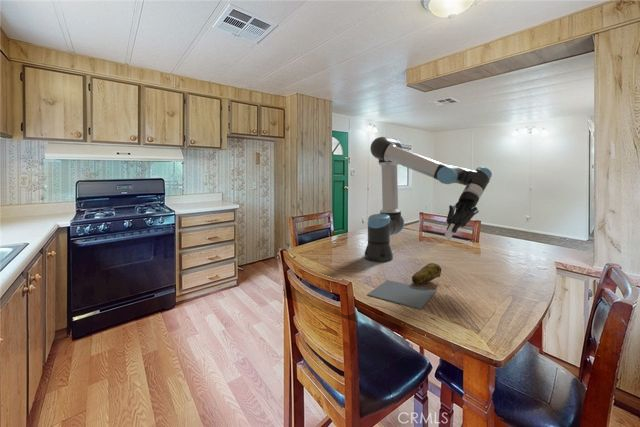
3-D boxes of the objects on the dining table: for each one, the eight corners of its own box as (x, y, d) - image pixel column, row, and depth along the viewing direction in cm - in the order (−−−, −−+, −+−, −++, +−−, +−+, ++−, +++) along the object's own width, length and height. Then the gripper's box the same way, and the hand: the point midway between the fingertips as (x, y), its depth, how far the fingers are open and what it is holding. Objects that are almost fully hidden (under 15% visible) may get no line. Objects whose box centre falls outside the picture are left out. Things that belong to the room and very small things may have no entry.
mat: (367, 295, 107) (367, 294, 107) (387, 280, 122) (387, 279, 122) (420, 309, 95) (420, 308, 95) (436, 291, 110) (436, 290, 110)
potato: (407, 279, 123) (407, 261, 122) (436, 278, 123) (437, 260, 122) (414, 287, 114) (414, 268, 113) (445, 286, 115) (446, 267, 114)
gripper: (488, 202, 125) (465, 245, 118) (459, 200, 136) (437, 240, 129) (482, 190, 121) (458, 234, 115) (453, 190, 132) (430, 230, 125)
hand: (447, 237), depth 122 cm, fingers closed
